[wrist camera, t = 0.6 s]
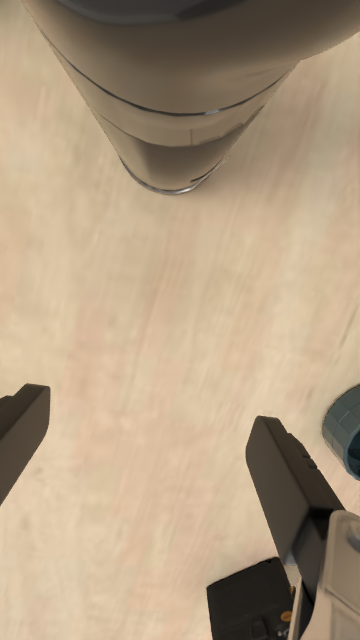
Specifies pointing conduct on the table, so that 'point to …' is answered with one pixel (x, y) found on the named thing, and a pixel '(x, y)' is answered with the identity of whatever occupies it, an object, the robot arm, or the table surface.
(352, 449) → the bowl
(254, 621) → the film camera
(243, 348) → the table surface
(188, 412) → the table surface
